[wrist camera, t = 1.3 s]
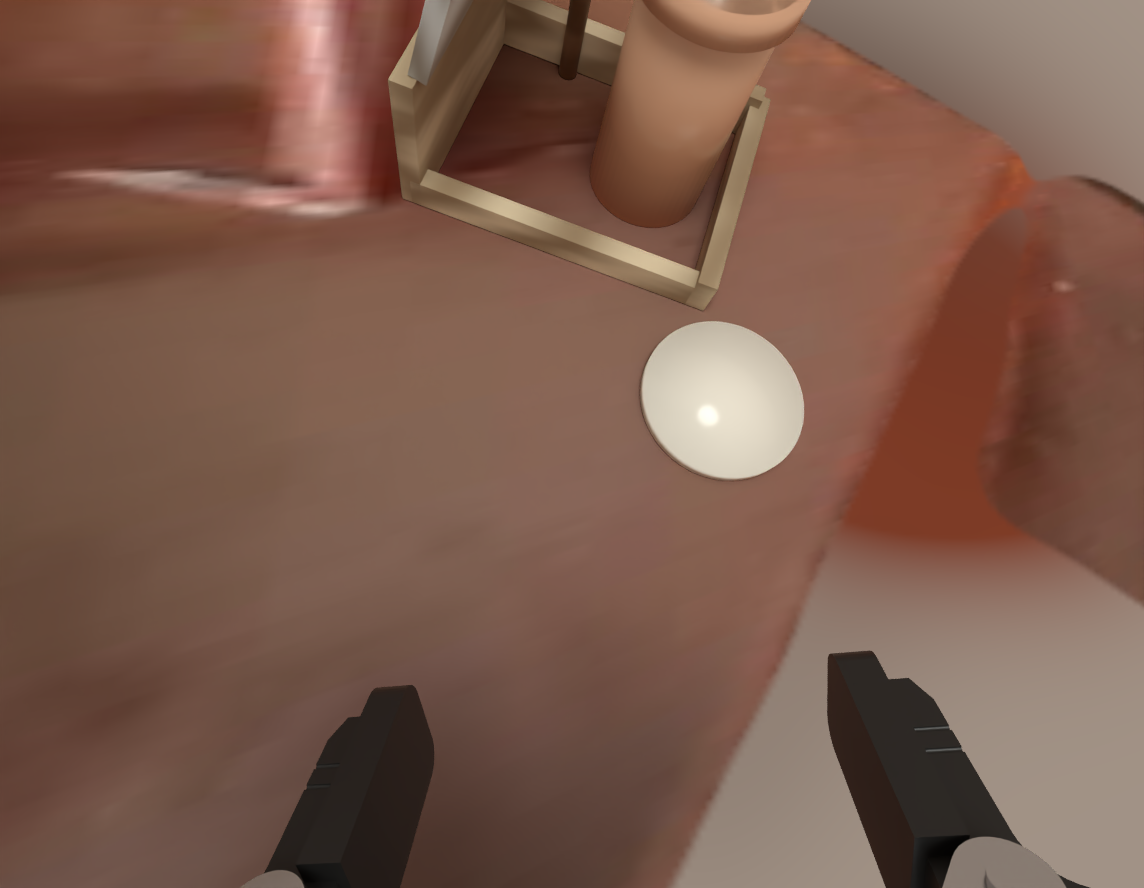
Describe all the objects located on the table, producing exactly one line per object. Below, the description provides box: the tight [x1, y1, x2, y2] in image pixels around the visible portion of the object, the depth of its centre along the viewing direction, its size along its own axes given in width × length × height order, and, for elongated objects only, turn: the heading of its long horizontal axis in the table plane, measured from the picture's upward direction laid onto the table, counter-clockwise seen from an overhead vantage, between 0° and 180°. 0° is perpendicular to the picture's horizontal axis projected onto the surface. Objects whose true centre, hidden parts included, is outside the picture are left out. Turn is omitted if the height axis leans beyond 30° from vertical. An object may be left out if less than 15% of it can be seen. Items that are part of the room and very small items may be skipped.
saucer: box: [640, 321, 804, 481], centre depth 31 cm, size 8×8×1 cm
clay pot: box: [590, 0, 811, 228], centre depth 30 cm, size 7×7×12 cm
